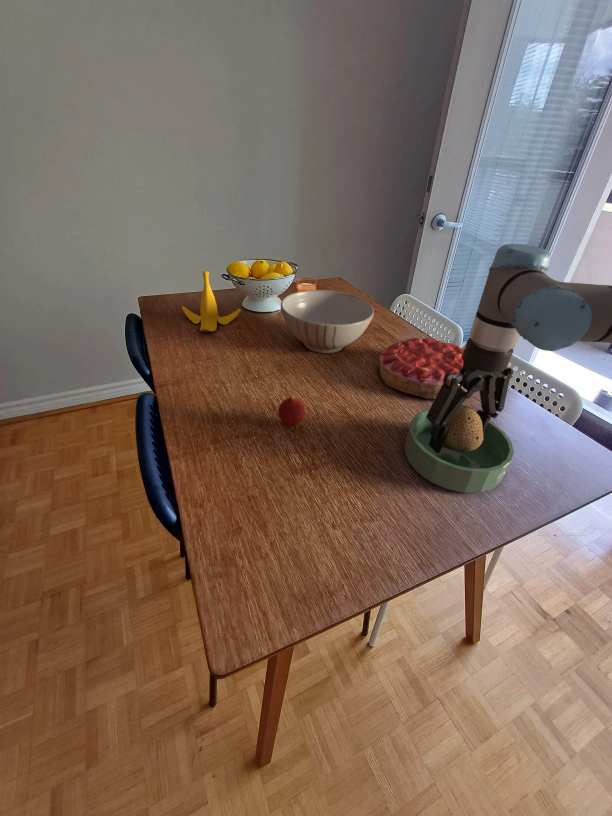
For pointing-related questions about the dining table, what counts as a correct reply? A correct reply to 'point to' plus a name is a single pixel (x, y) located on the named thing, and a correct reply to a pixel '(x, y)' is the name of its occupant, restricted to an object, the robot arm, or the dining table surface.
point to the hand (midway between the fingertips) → (454, 443)
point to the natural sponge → (464, 430)
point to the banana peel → (208, 309)
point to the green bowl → (459, 458)
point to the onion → (291, 411)
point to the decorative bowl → (326, 318)
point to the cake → (420, 365)
